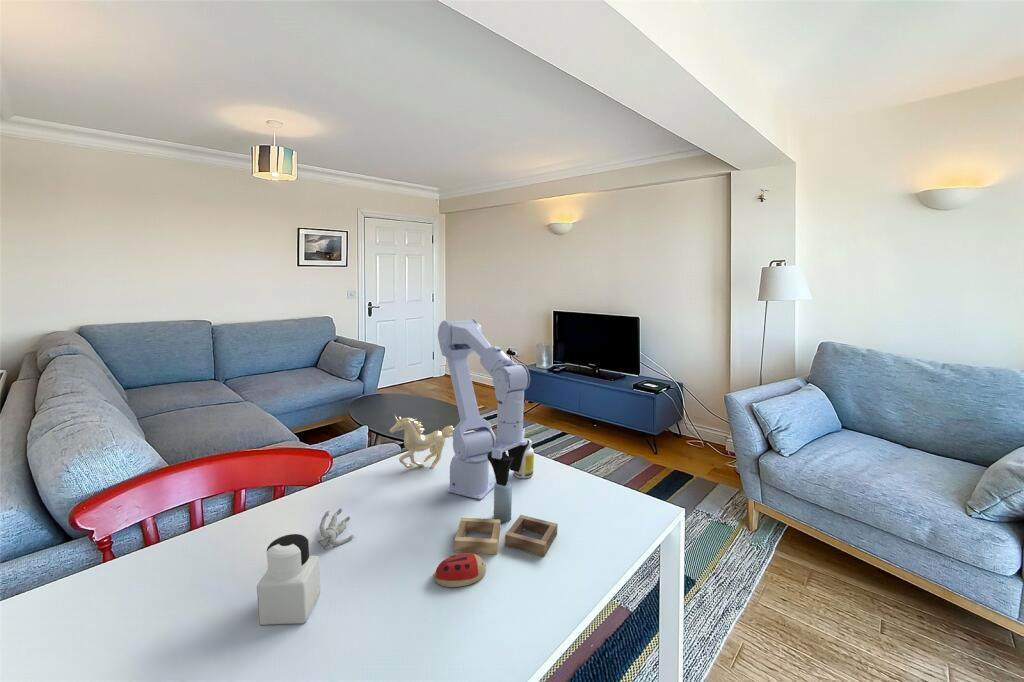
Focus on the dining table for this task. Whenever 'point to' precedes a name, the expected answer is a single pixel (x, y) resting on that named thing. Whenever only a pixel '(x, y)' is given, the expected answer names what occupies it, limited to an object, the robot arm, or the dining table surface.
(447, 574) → the ladybug figurine
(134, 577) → the dining table surface
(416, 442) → the unicorn
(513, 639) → the dining table surface
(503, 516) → the thick gray cylindrical peg
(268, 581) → the white blocky bust figurine
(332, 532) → the grey branched piece
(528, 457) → the supplement bottle
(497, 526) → the light wooden square frame
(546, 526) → the wooden square ring
